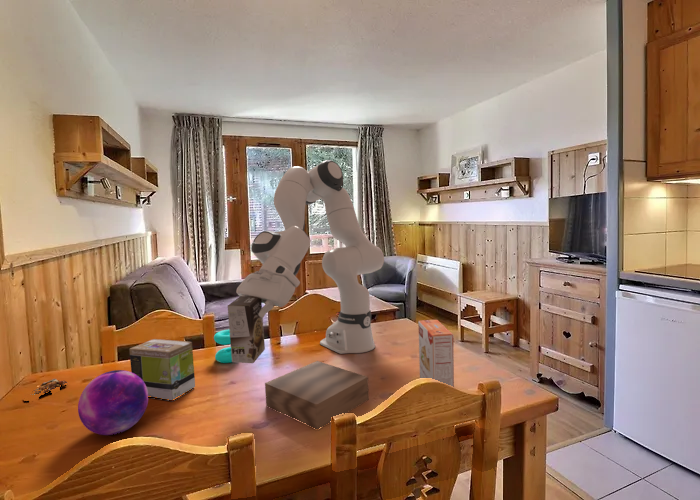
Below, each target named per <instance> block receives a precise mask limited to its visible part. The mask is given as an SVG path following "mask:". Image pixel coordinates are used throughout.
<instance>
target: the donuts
mask: <svg viewBox="0 0 700 500" xmlns="http://www.w3.org/2000/svg"><path fill="white" fill-rule="evenodd" d="M213 339H214V342H215V343H217V344H219V345H226V347H224V348H221V349H219V350H218V351H217V352H216V353H215V354H214V355H215V356H214V357H215V358H214V359H215V360H216V361H217V362H218V363H221V364H229V363H231V364H232V363H233V362H232V355H231V346H228V347H227V345H231V342H230V331H229V329H223V330H220V331H218V332H216V333H215V334H214V336H213Z"/></svg>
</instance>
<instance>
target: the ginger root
mask: <svg viewBox="0 0 700 500" xmlns="http://www.w3.org/2000/svg"><path fill="white" fill-rule="evenodd" d="M65 383H68V382H67V381H66V380H60V379H59V380H58V379H57V378H52V379H51V380H48V381H46V382H45V381H44V382H43V383H41V385H40V386H39V387H37V388H35V389H36V390H37V391H36V390H35V389H34V390H33V391H35V393H34V395H35V394H39V393H41V391H43V390H44V391H43V393H46V392H48V391H50V390H52V389H55V388H56V387H60V385H64V384H65ZM47 388H48V389H47ZM45 389H46V390H45ZM38 390H40V391H38ZM31 394H32V393H31ZM32 395H33V394H32Z"/></svg>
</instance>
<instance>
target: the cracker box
mask: <svg viewBox="0 0 700 500" xmlns="http://www.w3.org/2000/svg"><path fill="white" fill-rule="evenodd" d="M417 323H418V354H419V355H418V356H419V357H418V358H419V363H418V364H419V365H418V366H419V379H420V378H432V379H435V380H438V381H440V382H443V383H446V384H448V385H451V386H453V387H454V388H455V376H454V375H455V371H454V370H455V368H454V367H455V366H454V362H455V360H454V359H455V358H454V356H455V355H454V352H455V350H454V349H455V348H454V347H455V346H454V334H453V333H452V332H451V331H450V330H449V329H447V328H446V326H445V325H444V324H442V323H441V322H440V321H439V320H438V319H423V320H418V322H417Z"/></svg>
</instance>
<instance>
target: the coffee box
mask: <svg viewBox="0 0 700 500" xmlns="http://www.w3.org/2000/svg"><path fill="white" fill-rule="evenodd" d="M262 307H263V303H262V302H261V299H260V298H258V297H255V296H238V297H237V298H236V299H234V300H233V301H232V302H231V303H229V304H227V316H228V317H227V318H228V326H229V327H228V330H229V331H230V342H231V344H230V347H231V355H232V362H231V363H234V364H235V363H236V364H237V363H238V364H254V363H255V362H256V360H258V359H259V357H260V356H261V355H262V354H263V352H264V351H265V350H266V346H265V332H264V319H263V318H264V317H263V318H261V317H258V316H257V315H256V312H257V311H258V309H261V308H262Z"/></svg>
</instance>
